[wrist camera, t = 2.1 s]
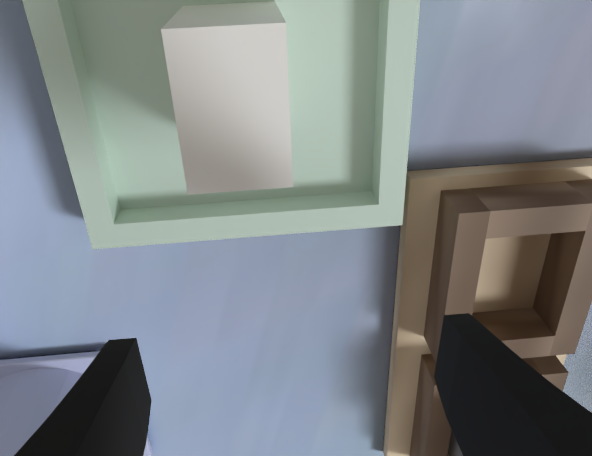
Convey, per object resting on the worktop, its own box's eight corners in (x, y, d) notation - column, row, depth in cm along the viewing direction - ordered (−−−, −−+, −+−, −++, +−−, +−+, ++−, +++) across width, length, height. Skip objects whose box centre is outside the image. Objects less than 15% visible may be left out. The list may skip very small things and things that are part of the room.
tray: (104, 226, 21) (92, 249, 19) (10, -131, 15) (-18, -139, 13) (390, 204, 21) (402, 224, 20) (413, -144, 15) (432, -154, 14)
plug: (200, 135, 19) (187, 194, 14) (183, 5, 16) (160, 29, 12) (282, 129, 19) (293, 187, 14) (275, 1, 16) (286, 22, 12)
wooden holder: (383, 451, 30) (395, 497, 27) (404, 171, 21) (426, 201, 18) (530, 436, 30) (555, 479, 28) (614, 156, 21) (662, 184, 19)
